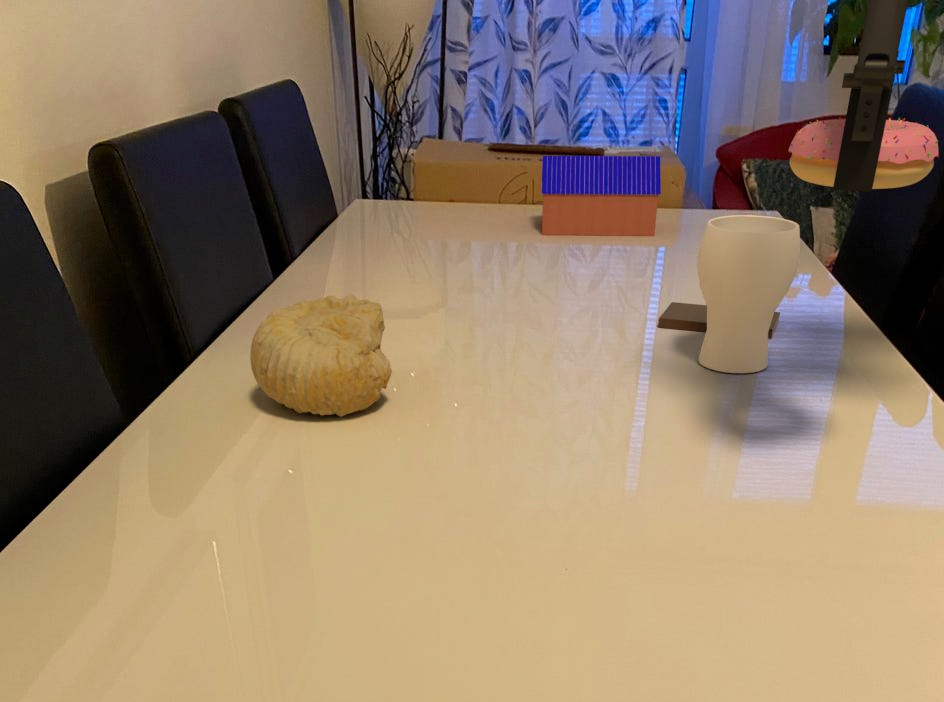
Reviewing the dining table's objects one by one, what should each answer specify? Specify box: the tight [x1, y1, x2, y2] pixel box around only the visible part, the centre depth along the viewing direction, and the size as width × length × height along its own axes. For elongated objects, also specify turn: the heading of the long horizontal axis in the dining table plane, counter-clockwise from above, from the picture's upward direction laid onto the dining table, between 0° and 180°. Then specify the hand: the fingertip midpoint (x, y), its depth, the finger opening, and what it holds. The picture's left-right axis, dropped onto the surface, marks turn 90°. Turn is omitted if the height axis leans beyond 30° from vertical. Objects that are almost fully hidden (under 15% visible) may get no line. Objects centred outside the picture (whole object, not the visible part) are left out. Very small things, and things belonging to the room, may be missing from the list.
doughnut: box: [788, 116, 940, 190], centre depth 76 cm, size 11×11×4 cm
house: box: [541, 155, 662, 237], centre depth 172 cm, size 12×20×12 cm, turn 86°
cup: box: [696, 214, 801, 374], centre depth 109 cm, size 11×11×15 cm
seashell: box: [249, 294, 393, 418], centre depth 102 cm, size 17×11×15 cm
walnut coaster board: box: [657, 301, 781, 340], centre depth 126 cm, size 14×8×1 cm, turn 69°
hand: (855, 177), depth 77 cm, fingers closed on doughnut, 11 cm apart
